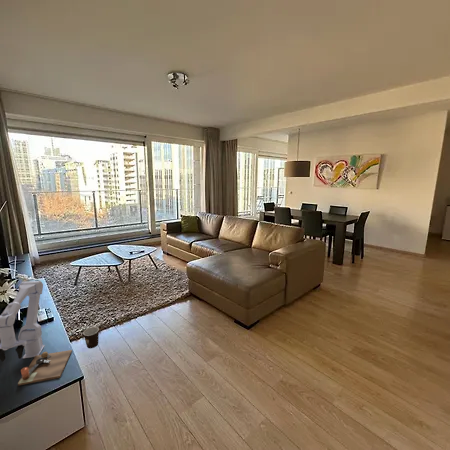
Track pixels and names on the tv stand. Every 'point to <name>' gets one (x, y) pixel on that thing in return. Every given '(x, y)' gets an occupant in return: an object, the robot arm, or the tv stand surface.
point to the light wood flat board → (48, 367)
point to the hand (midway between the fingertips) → (12, 358)
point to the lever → (27, 372)
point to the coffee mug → (91, 336)
